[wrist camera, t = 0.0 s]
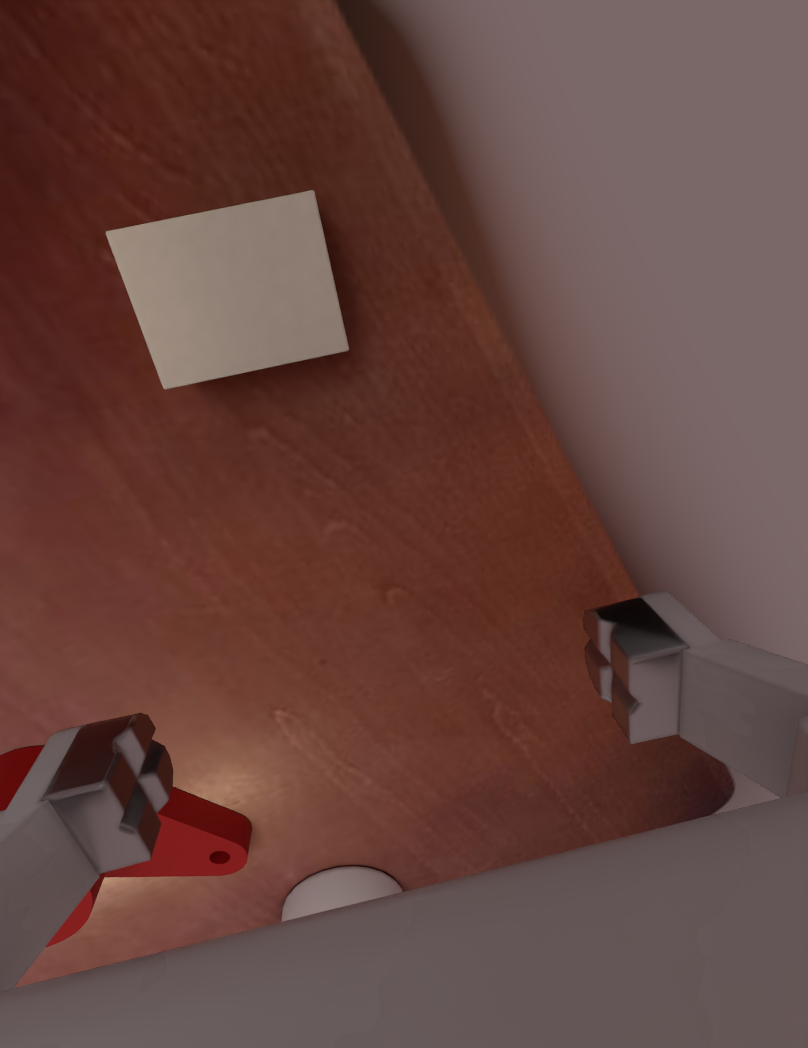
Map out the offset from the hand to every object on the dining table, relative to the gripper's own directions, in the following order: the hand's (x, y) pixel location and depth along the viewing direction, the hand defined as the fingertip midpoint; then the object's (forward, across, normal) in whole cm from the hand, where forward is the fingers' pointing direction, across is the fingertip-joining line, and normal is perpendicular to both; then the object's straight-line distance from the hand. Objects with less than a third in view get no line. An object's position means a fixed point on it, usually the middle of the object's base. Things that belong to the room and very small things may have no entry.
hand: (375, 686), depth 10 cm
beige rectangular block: (+20, +3, -7) cm, 22 cm away
